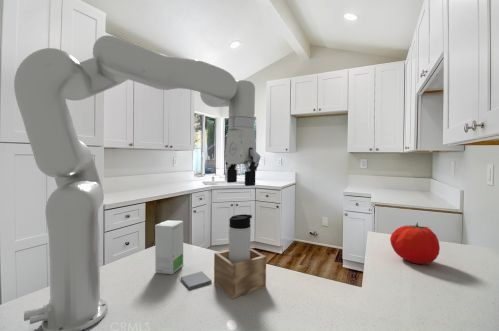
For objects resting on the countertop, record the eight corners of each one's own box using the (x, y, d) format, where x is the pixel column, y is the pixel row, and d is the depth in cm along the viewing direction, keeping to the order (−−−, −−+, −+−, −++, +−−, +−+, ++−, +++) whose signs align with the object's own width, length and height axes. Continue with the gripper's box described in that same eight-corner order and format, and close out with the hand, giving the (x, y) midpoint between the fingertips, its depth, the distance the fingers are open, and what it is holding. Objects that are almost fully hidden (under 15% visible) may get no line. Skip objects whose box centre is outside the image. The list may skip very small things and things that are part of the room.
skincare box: (172, 275, 81) (172, 226, 80) (153, 273, 82) (153, 225, 81) (184, 264, 89) (184, 220, 88) (166, 262, 90) (167, 219, 90)
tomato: (434, 259, 97) (436, 223, 96) (443, 273, 84) (445, 233, 84) (388, 251, 104) (389, 218, 103) (390, 264, 91) (391, 226, 91)
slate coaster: (189, 289, 72) (189, 286, 72) (180, 279, 78) (180, 277, 78) (211, 282, 76) (211, 280, 76) (201, 273, 82) (201, 271, 82)
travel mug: (249, 288, 71) (250, 217, 71) (226, 286, 72) (227, 216, 72) (252, 277, 78) (253, 213, 77) (231, 276, 79) (231, 212, 78)
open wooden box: (232, 298, 68) (232, 265, 67) (214, 282, 76) (214, 253, 76) (265, 286, 74) (266, 256, 74) (245, 272, 83) (246, 245, 83)
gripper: (216, 126, 79) (215, 181, 79) (247, 120, 64) (246, 187, 65) (236, 128, 83) (235, 180, 83) (270, 123, 69) (269, 186, 69)
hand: (240, 183), depth 74 cm, fingers open, 9 cm apart
